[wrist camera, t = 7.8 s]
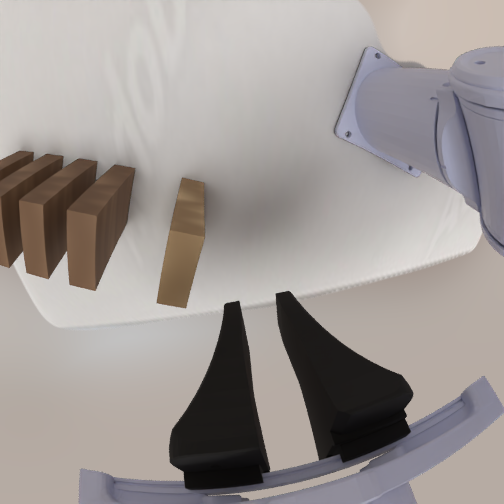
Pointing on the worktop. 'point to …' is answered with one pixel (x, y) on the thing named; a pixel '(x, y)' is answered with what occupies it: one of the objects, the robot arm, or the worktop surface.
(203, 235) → the domino
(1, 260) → the domino
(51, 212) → the domino
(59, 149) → the worktop surface
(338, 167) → the worktop surface
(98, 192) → the domino
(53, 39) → the worktop surface
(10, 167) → the domino
